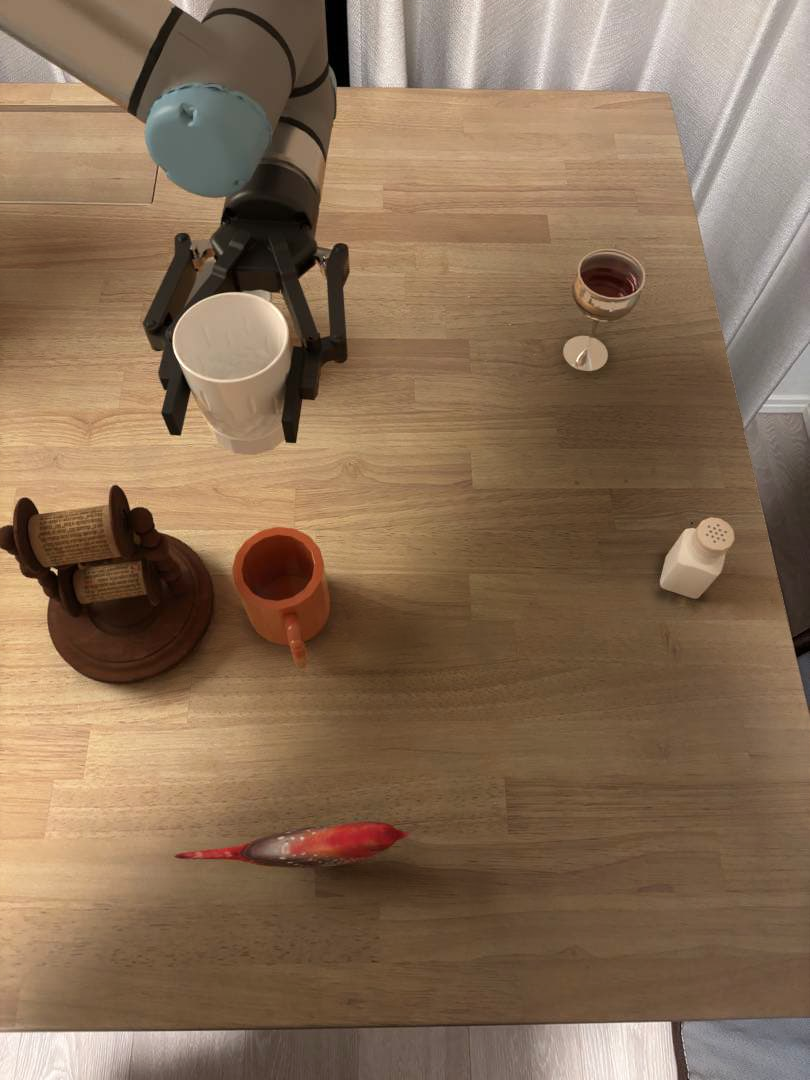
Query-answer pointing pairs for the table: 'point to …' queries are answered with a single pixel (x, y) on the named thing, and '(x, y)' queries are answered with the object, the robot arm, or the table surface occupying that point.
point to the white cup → (237, 368)
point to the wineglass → (602, 301)
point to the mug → (283, 587)
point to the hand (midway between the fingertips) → (230, 428)
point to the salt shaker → (697, 558)
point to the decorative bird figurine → (311, 846)
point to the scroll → (113, 588)
